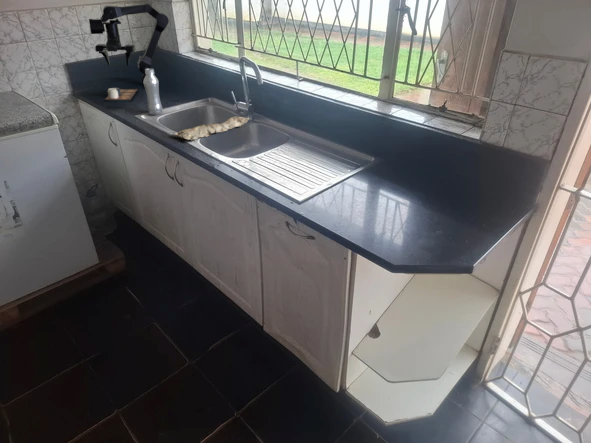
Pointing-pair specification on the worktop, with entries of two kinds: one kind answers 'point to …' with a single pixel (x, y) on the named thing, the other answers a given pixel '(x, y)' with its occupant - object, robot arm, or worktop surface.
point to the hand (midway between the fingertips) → (118, 65)
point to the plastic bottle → (152, 92)
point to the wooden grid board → (124, 94)
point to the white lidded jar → (112, 93)
